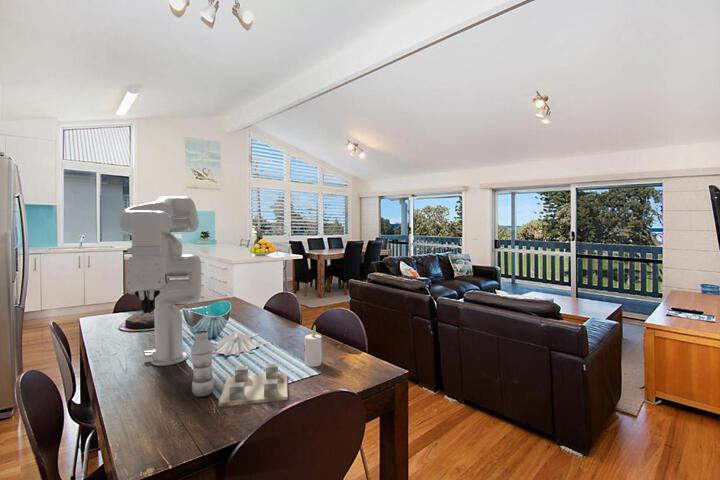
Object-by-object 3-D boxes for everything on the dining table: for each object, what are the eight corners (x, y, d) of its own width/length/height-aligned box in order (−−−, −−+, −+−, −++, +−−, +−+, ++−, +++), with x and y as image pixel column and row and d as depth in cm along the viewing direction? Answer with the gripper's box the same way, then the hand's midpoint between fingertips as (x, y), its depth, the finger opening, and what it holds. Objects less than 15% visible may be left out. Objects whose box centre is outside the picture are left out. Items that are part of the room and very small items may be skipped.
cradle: (218, 406, 107) (218, 390, 107) (227, 380, 124) (227, 366, 124) (287, 399, 111) (287, 383, 111) (286, 375, 129) (286, 361, 128)
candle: (304, 360, 142) (304, 322, 142) (321, 360, 143) (321, 322, 142) (303, 366, 136) (303, 327, 135) (321, 366, 137) (321, 327, 136)
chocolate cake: (124, 336, 172) (123, 323, 172) (114, 324, 193) (113, 312, 193) (186, 325, 191) (186, 313, 191) (171, 315, 212) (171, 304, 211)
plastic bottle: (206, 400, 111) (205, 336, 110) (186, 398, 112) (185, 334, 111) (218, 390, 117) (217, 329, 116) (200, 388, 118) (198, 328, 117)
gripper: (113, 253, 104) (115, 316, 105) (170, 252, 107) (171, 314, 108) (124, 251, 111) (126, 310, 112) (177, 250, 114) (178, 308, 115)
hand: (148, 312), depth 110 cm, fingers closed
